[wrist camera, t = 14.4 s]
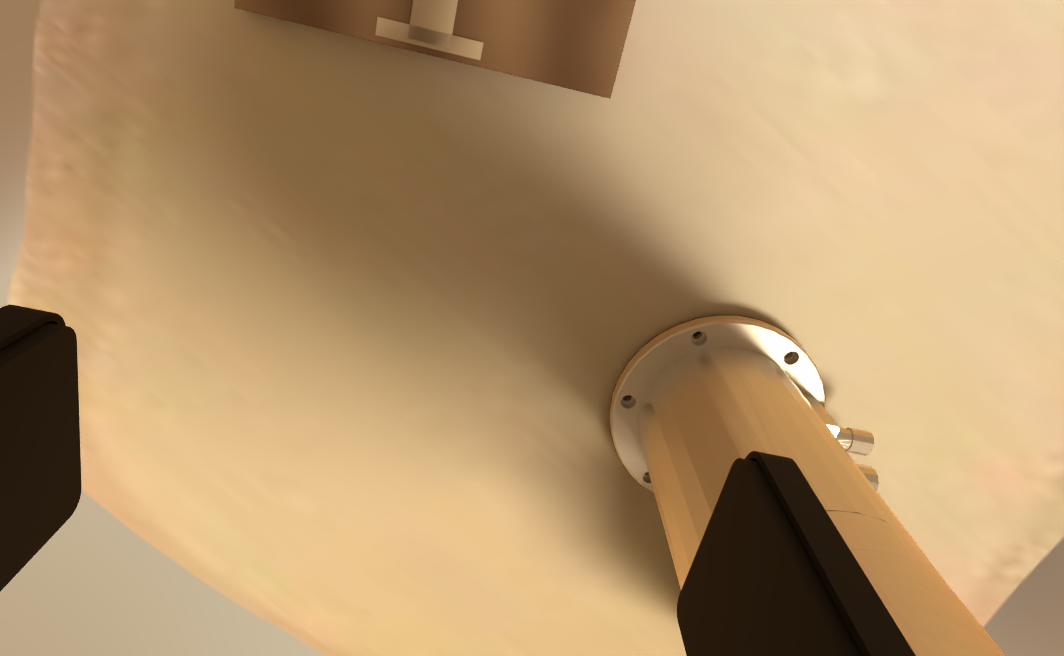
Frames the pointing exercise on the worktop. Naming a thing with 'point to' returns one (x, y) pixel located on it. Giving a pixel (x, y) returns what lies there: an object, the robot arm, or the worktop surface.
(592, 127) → the worktop surface
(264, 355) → the worktop surface
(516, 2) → the board
